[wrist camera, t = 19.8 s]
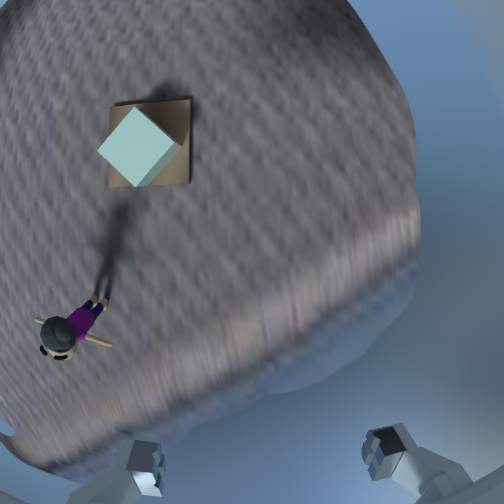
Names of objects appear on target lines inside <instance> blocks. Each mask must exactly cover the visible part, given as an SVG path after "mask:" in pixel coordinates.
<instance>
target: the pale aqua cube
mask: <svg viewBox="0 0 504 504" xmlns="http://www.w3.org/2000/svg"><path fill="white" fill-rule="evenodd" d="M181 148H182V146H181V145H180V144H179V143H178V142H176V141H175V140H174V139H173V138H172V137H171V136H170V135H169V134H168V133H166V132H165V131H164V130H163V129H162V128H161V127H160V126H159V125H158V124H156V123H155V122H154V121H153V120H152V119H151V118H150V117H149V116H147V115H146V114H145V113H143V112H142V111H140V110H139V109H137V108H136V107H134V108H133V109H132V110H131V111H130V112H129V113H128V115H127V116H126V117H125V118H124V119H123V120H122V122H121V123H120V124H119V125H118V126H117V127H116V129H115V130H114V131H113V132H112V133H111V135H110V136H109V137H108V138H107V140H106V141H105V142H104V143H103V145H102V146H101V147H100V148H99V150H98V152H99V153H100V154H101V155H102V156H103V157H104V158H105V159H106V160H107V161H108V162H109V163H110V164H111V165H113V166H114V167H115V168H116V169H117V170H118V171H119V172H120V173H121V174H122V175H123V176H124V177H125V178H126V179H127V180H128V181H129V182H130V183H131V184H132V185H134V186H135V187H141V186H147V185H149V184H150V182H151V181H152V180H153V179H154V178H155V177H156V175H157V174H158V173H159V172H160V171H161V170H162V169H163V167H164V166H165V165H166V164H167V163H168V162H169V161H170V160H171V159H172V157H173V156H174V155H175V154H176V153H177V152H178V151H179V150H180V149H181Z"/></svg>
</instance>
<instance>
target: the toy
mask: <svg viewBox="0 0 504 504" xmlns="http://www.w3.org/2000/svg"><path fill="white" fill-rule="evenodd" d="M97 303H98V299H97V296H95V295H94V296H93V297H92V298H91V299H90V300H88V301H87V302H86V303H85V304H84V305H83V306H82V307H80V308H77V309H76V310H75V311H74V312H73V313H72V314H71V315H70V316H69V317H68V318H67V319H65V318H62V317H59V316H55V317H52V318H48V319H47V320H44V319H41V318H38V317H36V318H35V320H36V321H37V322H38V323H41V324H43V325H42V328H41V332H40V336H41V338H42V341H43V343H44V345H45V346H46V347H47V348H48V350H49V352H50V353H51V355H52V356H53V357H54V359H55V360H67V359H70V358H71V357H72V356H73V355H74V354H75V352H76V350H77V341H80V340H91V341H94V342H96V343H99V344H102V345H105V346H109V347H112V346H113V343H112V342H110V341H107V340H103V339H100V338H97V337H95V336H92V335H89V334H87V332H88V331H89V329H90V328H91V327H92V325H93V324H94V321H95V320H96V318H97V317H98V316H99V314H100V313H101V312H102V311H103V310H106V309H107V304H108V300H107V299H106V298H103V299H102V300H101V301H100V302H99V303H98V304H97ZM92 307H94V308H93V309H92V310H90V309H91V308H92ZM40 351H41V353H42V354H43V355H45V356H46V355H47V352H46V351H45V350H44V349H43V346H42V345H41V346H40Z"/></svg>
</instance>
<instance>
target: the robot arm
mask: <svg viewBox="0 0 504 504" xmlns="http://www.w3.org/2000/svg"><path fill="white" fill-rule="evenodd" d="M366 438H367V440H366V441H365V442H364V443H363V446H362V458H363V461H364V463H365V464H367V465H369V468H368V472H369V475H370V477H371V479H372V481H377V480H381V479H385V478H388V477H391V478H392V479H393V480H394V481H396V482H397V483H399V484H400V485H402V486H403V487H405V488H406V489H407V490H409V491H411V492H412V493H413V494H415V495H416V496H418V497H419V499H418V500H417V502H416V503H415V504H504V465H503V466H501V467H500V468H498V469H496V470H495V471H493V472H491V473H490V474H488V475H486V476H485V477H483V478H481V479H479V480H478V481H476V482H474V483H473V481H472V480H471V479H470V477H469V475H468V474H467V473H466V471H465V470H464V468H463V467H462V465H460V464H458V463H456V462H454V461H451V460H449V459H447V458H445V457H442V456H440V455H438V454H436V453H434V452H432V451H429V450H427V449H425V448H423V447H417V445H416V443H415V442H414V440H413V438H412V437H411V435H410V434H409V432H408V431H407V429H406V428H405V426H404V425H403V424H402V423H399V424H395V425H391V426H386V427H382V428H378V429H373V430H369V431H368V432H367V434H366ZM162 450H163V448H162V445H161V443H153V442H146V441H138V440H131V439H123V440H122V441H121V444H120V447H119V450H118V453H117V456H116V459H115V462H114V465H113V468H112V467H109V468H107V469H106V470H104V471H103V472H102V473H100V474H99V475H97V476H96V477H94V478H93V479H91V480H90V481H88V482H87V483H86V484H84V485H83V486H81V487H80V488H78V489H76V490H75V491H73V492H72V493H71V494H70V496H69V498H68V501H67V504H133V503H134V502H136V500H138V499H139V498H140V497H141V494H142V495H150V496H160V497H161V496H162V494H163V488H164V483H163V480H162V478H163V477H165V475H166V459H165V455H164V454H162ZM0 504H29V503H26V502H24V501H22V500H20V499H18V498H15V497H13V496H11V495H9V494H7V493H5V492H3V491H1V490H0Z"/></svg>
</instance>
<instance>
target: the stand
mask: <svg viewBox="0 0 504 504" xmlns="http://www.w3.org/2000/svg"><path fill="white" fill-rule="evenodd" d="M134 107H136V108H137V109H139V110H140V111H142V112H143V113H145V114H146V115H147V116H149V117H150V118H151V119H152V120H153V121H154V122H155V123H156V124H158V125H159V126H160V127H161V128H162V129H163V130H164V131H165V132H166V133H168V134H169V135H170V136H171V137H172V138H173V139H174V140H175V141H176V142H178V143H179V144H180V145H181V146H182V148H181V149H180V150H179V151H178V152H177V153H176V154H175V155H174V156H173V157H172V159H171V160H170V161H169V162H168V163H167V164H166V165H165V166H164V167H163V169H162V170H161V171H160V172H159V173H158V174H157V175H156V177H155V178H154V179H153V180H152V181H151V182H150V184H149V185H164V184H190V119H191V101H190V100H177V101H163V102H152V103H142V104H133V105H125V106H117V107H110V117H109V136H110V135H111V133H112V132H113V131H114V130H115V129H116V127H117V126H118V125H119V124H120V123H121V122H122V120H123V119H124V118H125V117H126V116H127V115H128V113H129V112H130V111H131V110H132V109H133V108H134ZM126 186H134V185H132V184H131V183H130V182H129V181H128V180H127V179H126V178H125V177H124V176H123V175H122V174H121V173H120V172H119V171H118V170H117V169H116V168H115V167H114V166H113V165H111V164H110V163H109V188H111V187H126Z"/></svg>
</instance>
